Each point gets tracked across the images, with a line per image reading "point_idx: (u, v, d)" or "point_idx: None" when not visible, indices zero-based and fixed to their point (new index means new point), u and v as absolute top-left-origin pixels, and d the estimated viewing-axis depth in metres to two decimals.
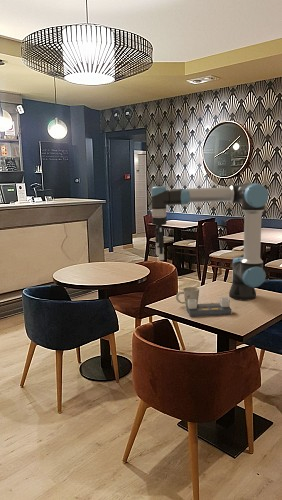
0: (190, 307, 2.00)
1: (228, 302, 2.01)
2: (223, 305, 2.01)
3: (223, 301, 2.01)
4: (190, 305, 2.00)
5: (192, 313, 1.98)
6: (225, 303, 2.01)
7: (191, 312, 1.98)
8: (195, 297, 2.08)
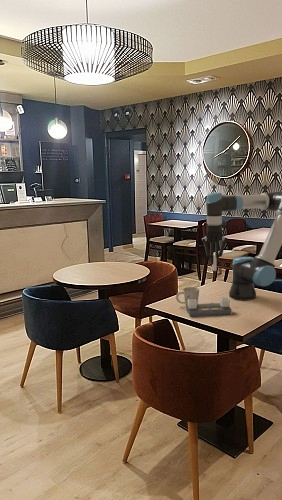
0: (190, 307, 2.00)
1: (228, 302, 2.01)
2: (223, 305, 2.01)
3: (223, 301, 2.01)
4: (190, 305, 2.00)
5: (192, 313, 1.98)
6: (225, 303, 2.01)
7: (191, 312, 1.98)
8: (195, 297, 2.08)
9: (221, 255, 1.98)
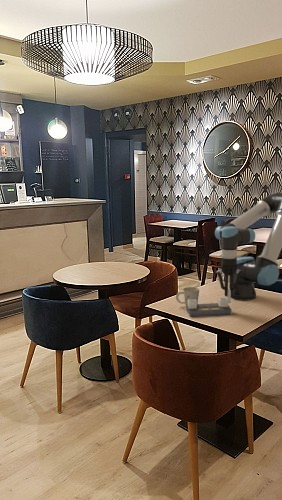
0: (190, 307, 2.00)
1: (226, 302, 2.01)
2: (221, 305, 2.01)
3: (221, 301, 2.01)
4: (190, 305, 2.00)
5: (192, 313, 1.98)
6: (223, 303, 2.01)
7: (191, 312, 1.98)
8: (195, 297, 2.08)
9: (235, 288, 2.01)
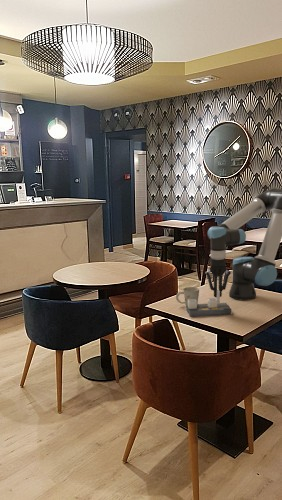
0: (190, 307, 2.00)
1: (215, 303, 2.01)
2: (210, 306, 2.01)
3: (210, 302, 2.01)
4: (190, 305, 2.00)
5: (192, 313, 1.98)
6: (212, 304, 2.01)
7: (191, 312, 1.98)
8: (195, 297, 2.08)
9: (224, 288, 2.00)
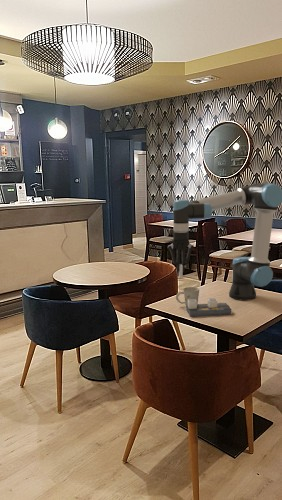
0: (190, 307, 2.00)
1: (215, 303, 2.01)
2: (210, 306, 2.01)
3: (210, 302, 2.01)
4: (190, 305, 2.00)
5: (192, 313, 1.98)
6: (212, 304, 2.01)
7: (191, 312, 1.98)
8: (195, 297, 2.08)
9: (187, 263, 1.97)
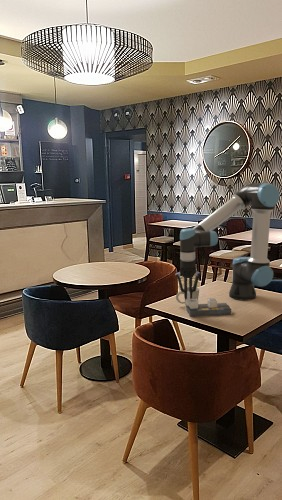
0: (191, 307, 2.00)
1: (215, 303, 2.01)
2: (210, 306, 2.01)
3: (210, 302, 2.01)
4: (191, 305, 2.00)
5: (192, 313, 1.98)
6: (212, 304, 2.01)
7: (191, 312, 1.98)
8: (195, 297, 2.08)
9: (195, 290, 2.00)
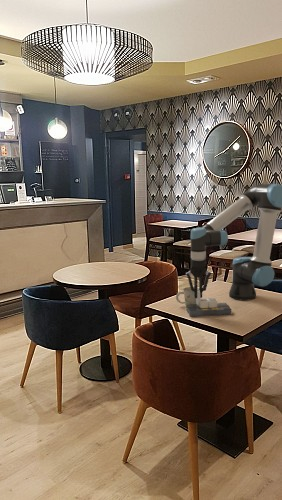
0: (202, 306, 2.01)
1: (215, 303, 2.01)
2: (210, 306, 2.01)
3: (210, 302, 2.01)
4: (202, 304, 2.00)
5: (192, 313, 1.98)
6: (212, 304, 2.01)
7: (191, 312, 1.98)
8: None
9: (205, 289, 2.00)
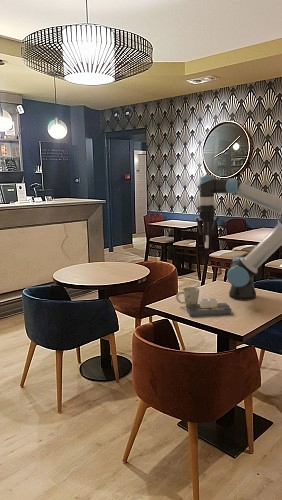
0: (202, 306, 2.01)
1: (215, 303, 2.01)
2: (210, 306, 2.01)
3: (210, 302, 2.01)
4: (202, 304, 2.01)
5: (192, 313, 1.98)
6: (212, 304, 2.01)
7: (191, 312, 1.98)
8: (195, 297, 2.08)
9: (213, 233, 2.15)
